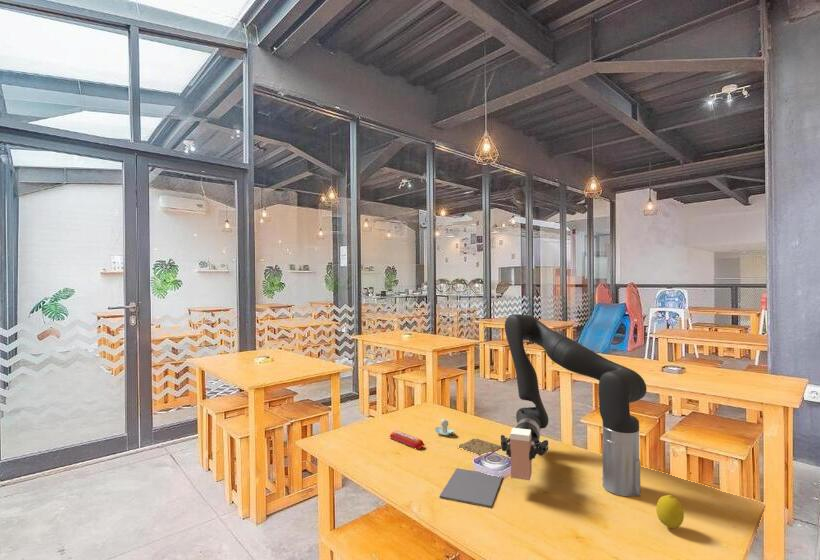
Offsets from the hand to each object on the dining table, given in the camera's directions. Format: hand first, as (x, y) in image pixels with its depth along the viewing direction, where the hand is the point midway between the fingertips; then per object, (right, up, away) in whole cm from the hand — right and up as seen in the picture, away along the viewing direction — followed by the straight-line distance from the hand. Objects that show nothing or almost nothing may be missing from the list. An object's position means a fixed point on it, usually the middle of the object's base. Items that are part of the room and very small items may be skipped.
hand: (520, 454), depth 116 cm
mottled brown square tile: (-5, -12, +34) cm, 37 cm away
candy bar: (-31, -12, +38) cm, 50 cm away
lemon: (+32, -12, -15) cm, 37 cm away
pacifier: (-16, -12, +47) cm, 51 cm away
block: (+1, -7, +2) cm, 7 cm away
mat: (-12, -11, +6) cm, 17 cm away
